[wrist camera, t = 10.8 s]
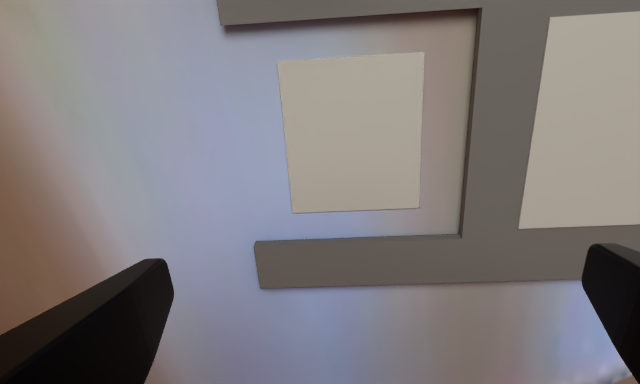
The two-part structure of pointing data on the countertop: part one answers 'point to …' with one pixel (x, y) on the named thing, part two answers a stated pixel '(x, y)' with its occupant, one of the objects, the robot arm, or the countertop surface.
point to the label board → (482, 144)
